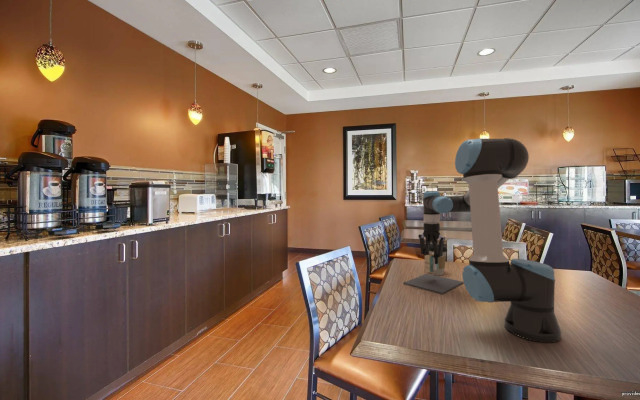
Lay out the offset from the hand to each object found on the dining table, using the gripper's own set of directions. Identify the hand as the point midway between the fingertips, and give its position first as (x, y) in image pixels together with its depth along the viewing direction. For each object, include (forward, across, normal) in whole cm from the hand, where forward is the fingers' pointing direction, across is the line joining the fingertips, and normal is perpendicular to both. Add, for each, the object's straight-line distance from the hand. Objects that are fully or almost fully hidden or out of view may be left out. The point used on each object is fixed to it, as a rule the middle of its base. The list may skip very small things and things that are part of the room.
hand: (431, 269), depth 148 cm
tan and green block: (+1, 0, 0) cm, 1 cm away
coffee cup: (+7, +6, -18) cm, 20 cm away
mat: (+7, -1, 0) cm, 7 cm away
